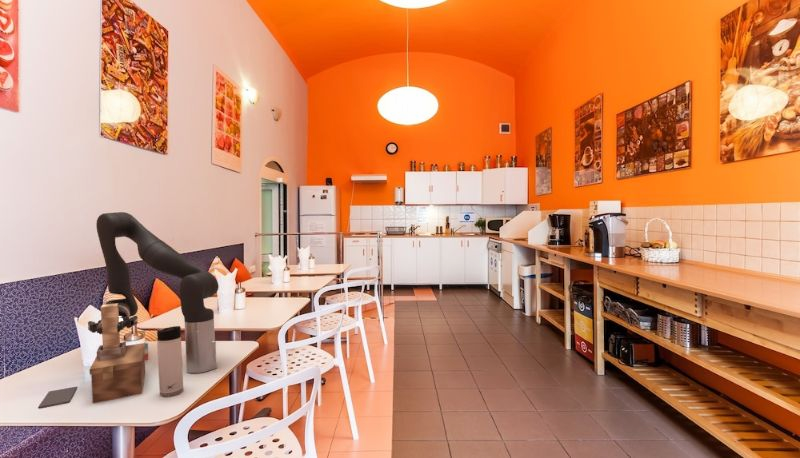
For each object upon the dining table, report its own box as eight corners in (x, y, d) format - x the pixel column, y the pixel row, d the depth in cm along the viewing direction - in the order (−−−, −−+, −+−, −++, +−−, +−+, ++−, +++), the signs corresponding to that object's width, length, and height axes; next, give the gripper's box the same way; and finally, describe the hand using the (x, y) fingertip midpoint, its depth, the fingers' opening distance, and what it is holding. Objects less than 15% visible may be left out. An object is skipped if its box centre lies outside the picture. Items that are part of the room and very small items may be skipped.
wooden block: (120, 353, 133) (118, 303, 132) (119, 356, 129) (116, 305, 128) (105, 355, 131) (102, 304, 130) (103, 359, 127) (100, 307, 126)
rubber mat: (77, 387, 131) (77, 386, 131) (69, 402, 120) (69, 401, 120) (49, 392, 127) (48, 391, 127) (38, 408, 117) (38, 407, 117)
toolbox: (146, 371, 144) (144, 333, 143) (142, 394, 125) (140, 351, 124) (101, 379, 137) (99, 340, 137) (91, 404, 119) (88, 359, 118)
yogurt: (144, 359, 156) (143, 342, 156) (148, 359, 156) (147, 342, 156) (124, 371, 144) (123, 353, 144) (129, 371, 144) (128, 353, 144)
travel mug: (174, 397, 122) (171, 330, 121) (154, 396, 123) (151, 329, 122) (189, 388, 128) (186, 324, 127) (170, 387, 129) (167, 323, 129)
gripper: (89, 309, 138) (79, 320, 123) (140, 304, 145) (136, 314, 130) (90, 331, 139) (81, 345, 124) (141, 325, 146) (137, 338, 131)
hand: (109, 329), depth 127 cm, fingers closed on wooden block, 4 cm apart
